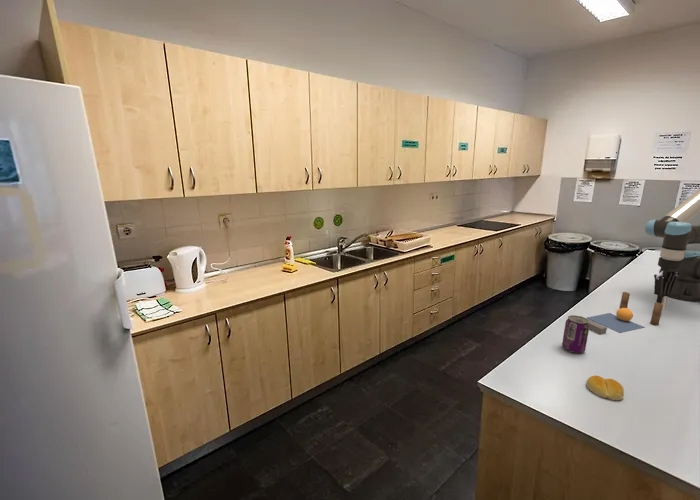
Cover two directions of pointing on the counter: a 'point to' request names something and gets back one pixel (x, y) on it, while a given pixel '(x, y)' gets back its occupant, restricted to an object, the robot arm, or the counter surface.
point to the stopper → (597, 327)
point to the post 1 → (624, 300)
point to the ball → (624, 314)
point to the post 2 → (656, 314)
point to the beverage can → (575, 334)
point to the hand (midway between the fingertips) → (659, 309)
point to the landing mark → (614, 322)
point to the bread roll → (605, 387)
